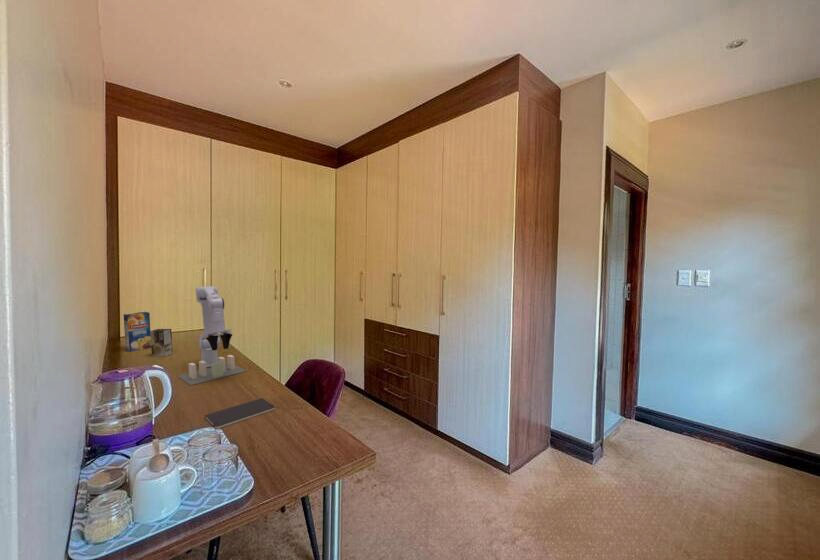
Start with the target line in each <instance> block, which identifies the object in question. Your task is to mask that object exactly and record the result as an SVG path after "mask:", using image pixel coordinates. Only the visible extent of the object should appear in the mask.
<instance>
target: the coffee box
mask: <svg viewBox="0 0 820 560" xmlns="http://www.w3.org/2000/svg"><path fill="white" fill-rule="evenodd" d="M150 335H151V348H150V349H151V357H161V358H162V357H168V356H171V355H173V352H174V351H173V337H172V335H173V334H172V328H156V329H153V330H150Z"/></svg>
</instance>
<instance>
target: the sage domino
mask: <svg viewBox="0 0 820 560" xmlns="http://www.w3.org/2000/svg"><path fill="white" fill-rule="evenodd" d="M210 368H211V372H212V378H217V377H221V376H224V374H223V362H217V363H213V364H211V366H210Z"/></svg>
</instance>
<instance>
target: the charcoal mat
mask: <svg viewBox="0 0 820 560" xmlns="http://www.w3.org/2000/svg"><path fill="white" fill-rule="evenodd" d="M225 364H226V372H223V374H224V376H221V377H217V378H212V372H211V367H208V368H206V371H207V376H205V377H202V376H200V375H199V370H196V376H197V379H191V378H189V372H188V373H183V374H179V375H177V378H179V379H180V380H182V382H184V383H186V384H187V385H189V387H191V386H195V385H199V384H205V383H207V382H208V383H209V382H212V381H215V380H219V379H222V378H227V377H230V376H235V375H238V374H242V373H246V372H248V370H246V369H244V368H242V367H240V366H238V365H236V364H235V369H234V370H230V369H228V367H227V363H225Z"/></svg>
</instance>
